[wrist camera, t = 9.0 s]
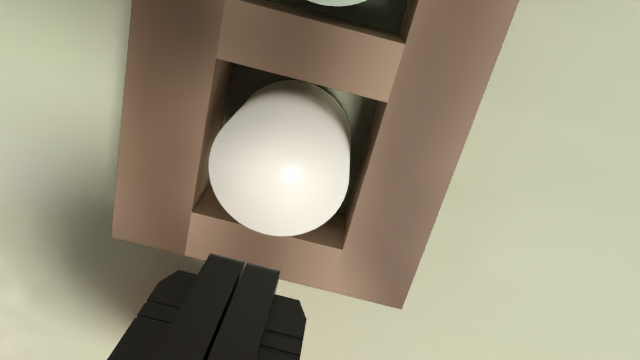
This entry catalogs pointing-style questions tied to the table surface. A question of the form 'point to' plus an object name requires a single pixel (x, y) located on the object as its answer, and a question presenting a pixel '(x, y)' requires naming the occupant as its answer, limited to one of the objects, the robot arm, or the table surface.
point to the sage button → (337, 2)
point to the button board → (318, 68)
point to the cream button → (283, 159)
